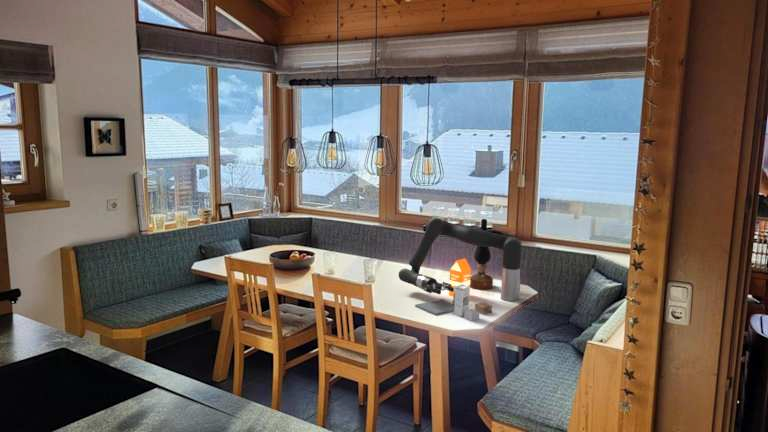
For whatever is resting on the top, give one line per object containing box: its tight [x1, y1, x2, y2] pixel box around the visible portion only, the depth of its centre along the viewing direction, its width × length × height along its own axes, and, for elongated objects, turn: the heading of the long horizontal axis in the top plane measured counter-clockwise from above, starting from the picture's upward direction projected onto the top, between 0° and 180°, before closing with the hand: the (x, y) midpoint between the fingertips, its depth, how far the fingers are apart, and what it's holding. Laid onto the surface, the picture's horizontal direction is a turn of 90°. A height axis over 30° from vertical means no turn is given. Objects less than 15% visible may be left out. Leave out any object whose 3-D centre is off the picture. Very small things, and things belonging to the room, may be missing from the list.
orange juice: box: [448, 258, 472, 297], centre depth 323 cm, size 8×9×20 cm
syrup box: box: [451, 284, 471, 317], centre depth 292 cm, size 6×6×14 cm
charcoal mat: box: [414, 298, 453, 316], centre depth 302 cm, size 18×16×1 cm
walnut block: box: [474, 301, 493, 315], centre depth 297 cm, size 6×6×4 cm
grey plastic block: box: [463, 308, 480, 322], centre depth 286 cm, size 5×5×4 cm
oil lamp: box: [470, 218, 494, 291], centre depth 341 cm, size 14×15×40 cm
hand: (446, 291), depth 300 cm, fingers open, 8 cm apart
